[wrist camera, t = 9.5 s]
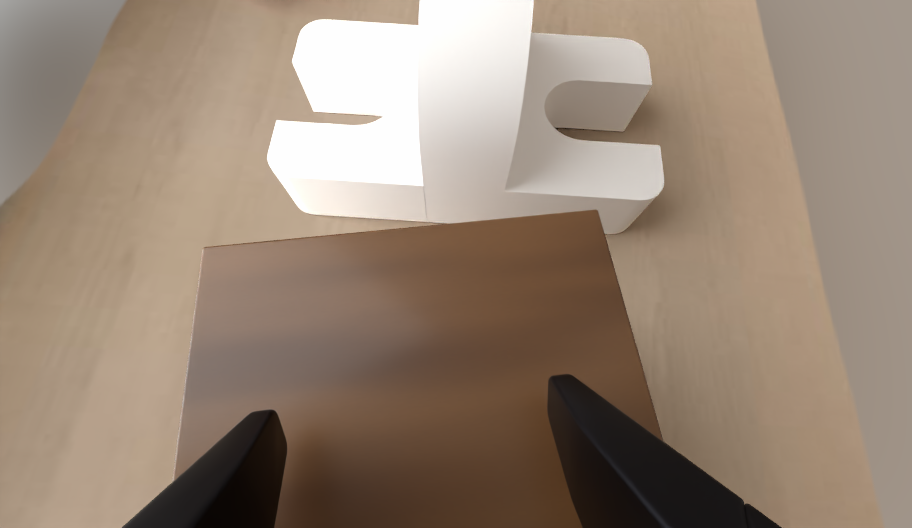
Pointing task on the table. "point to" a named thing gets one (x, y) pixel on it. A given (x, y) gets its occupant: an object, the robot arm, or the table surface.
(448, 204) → the bracket
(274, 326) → the box
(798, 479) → the table surface
